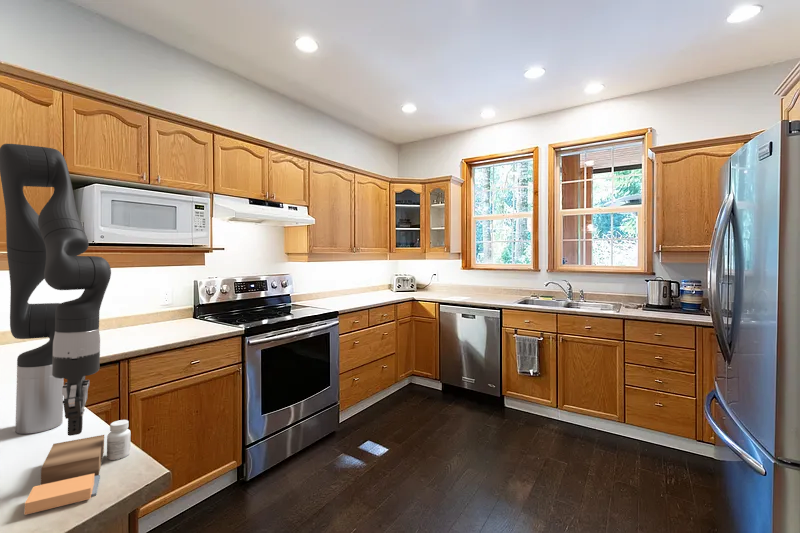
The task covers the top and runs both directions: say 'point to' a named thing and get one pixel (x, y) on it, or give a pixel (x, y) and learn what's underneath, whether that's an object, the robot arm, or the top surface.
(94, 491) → the mat
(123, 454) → the pill bottle
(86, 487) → the thin peach tile
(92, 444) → the block
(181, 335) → the top surface
